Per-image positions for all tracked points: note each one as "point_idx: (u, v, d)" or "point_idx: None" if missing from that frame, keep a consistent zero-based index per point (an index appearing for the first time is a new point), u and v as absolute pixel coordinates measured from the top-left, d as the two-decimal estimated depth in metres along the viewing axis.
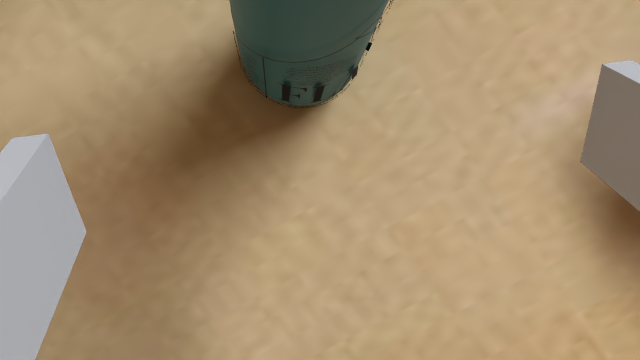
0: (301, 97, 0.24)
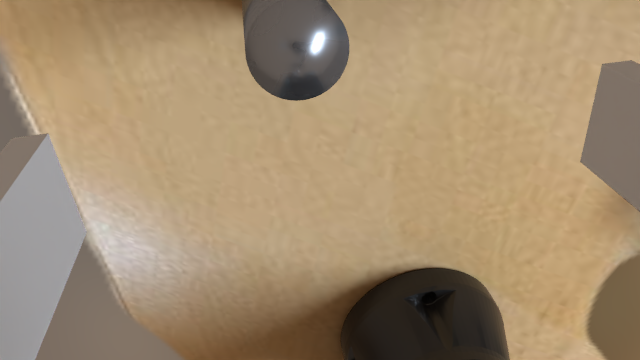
0: None
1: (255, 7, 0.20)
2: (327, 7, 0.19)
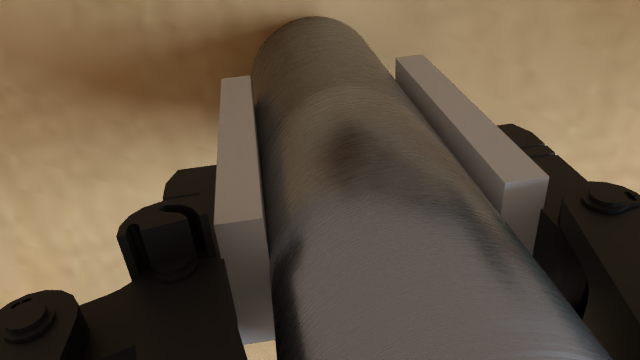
0: None
1: None
2: None
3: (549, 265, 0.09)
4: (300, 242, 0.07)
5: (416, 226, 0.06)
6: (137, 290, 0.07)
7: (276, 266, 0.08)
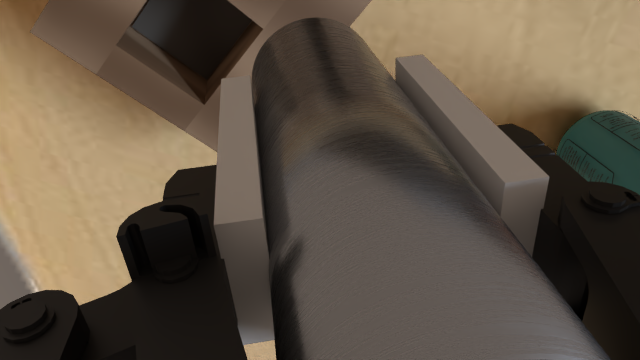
0: None
1: None
2: None
3: (549, 265, 0.09)
4: (300, 244, 0.07)
5: (416, 227, 0.06)
6: (137, 290, 0.07)
7: (275, 268, 0.08)
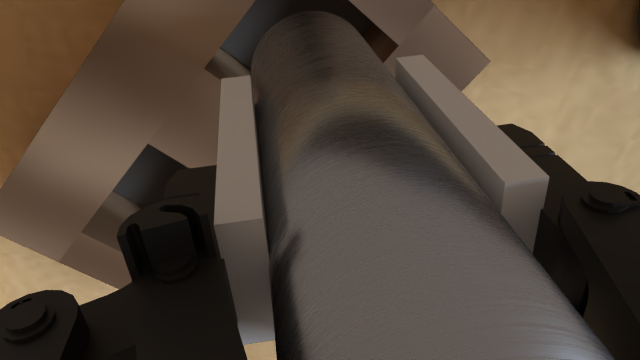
0: None
1: (327, 342, 0.06)
2: None
3: (549, 265, 0.09)
4: (295, 215, 0.08)
5: (402, 196, 0.07)
6: (137, 289, 0.07)
7: (273, 239, 0.08)
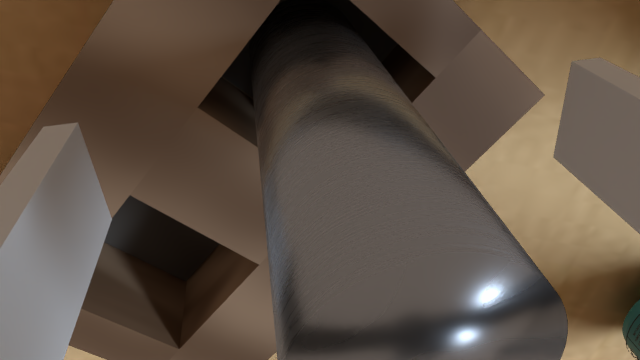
0: None
1: (304, 230, 0.07)
2: (529, 271, 0.06)
3: None
4: (284, 153, 0.10)
5: (366, 133, 0.09)
6: None
7: (266, 176, 0.10)
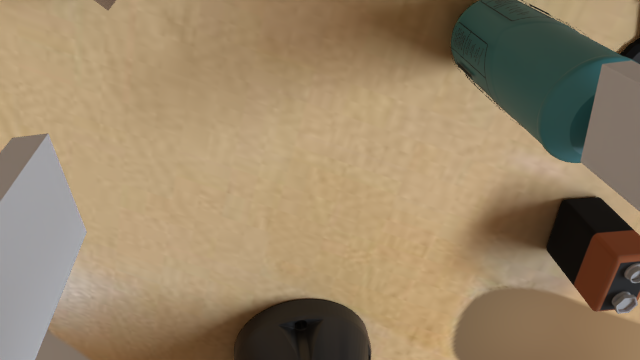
0: None
1: None
2: None
3: None
4: None
5: None
6: None
7: None
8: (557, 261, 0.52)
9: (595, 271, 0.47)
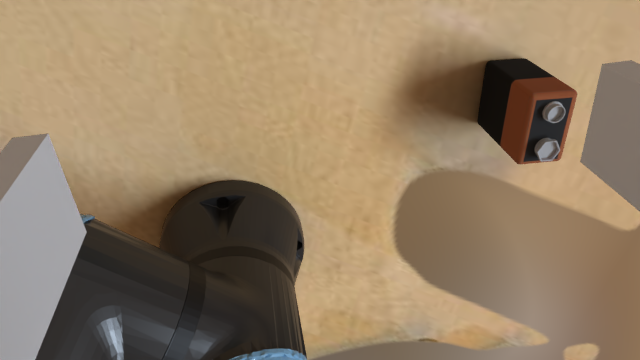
0: None
1: None
2: None
3: None
4: None
5: None
6: None
7: None
8: (486, 128, 0.51)
9: (515, 119, 0.45)
